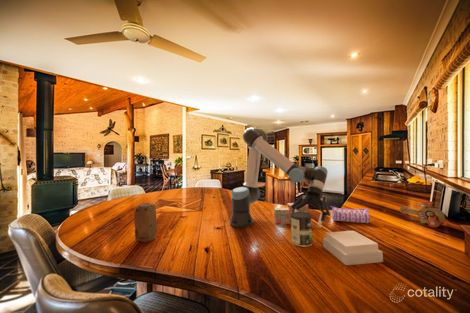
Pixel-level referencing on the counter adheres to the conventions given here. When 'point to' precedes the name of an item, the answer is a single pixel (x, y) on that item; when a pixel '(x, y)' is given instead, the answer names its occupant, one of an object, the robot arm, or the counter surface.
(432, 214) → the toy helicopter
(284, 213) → the stack of blocks
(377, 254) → the tower base
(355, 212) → the pencil case
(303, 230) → the coffee can
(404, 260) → the counter surface
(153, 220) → the block
